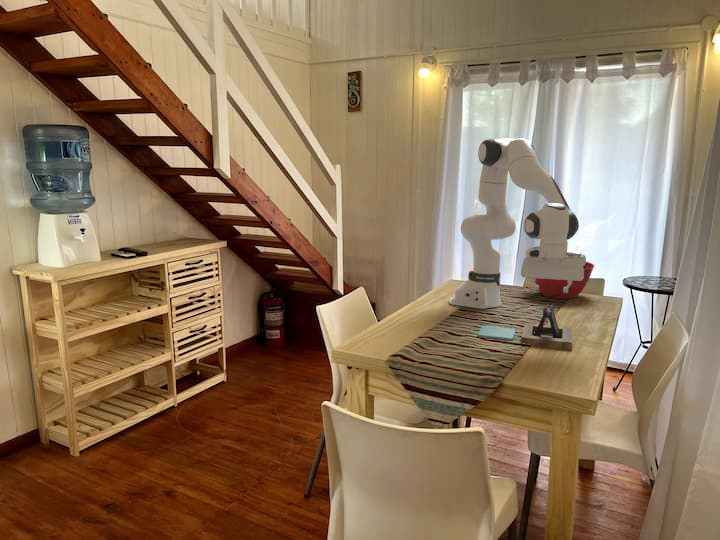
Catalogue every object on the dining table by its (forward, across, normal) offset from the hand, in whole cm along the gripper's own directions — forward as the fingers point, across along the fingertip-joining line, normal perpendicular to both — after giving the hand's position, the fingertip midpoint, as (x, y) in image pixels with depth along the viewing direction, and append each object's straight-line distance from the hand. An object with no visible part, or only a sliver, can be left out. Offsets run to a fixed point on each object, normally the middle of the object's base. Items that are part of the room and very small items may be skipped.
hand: (550, 291), depth 185 cm
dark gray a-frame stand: (+17, 0, 0) cm, 17 cm away
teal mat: (+17, +17, 0) cm, 24 cm away
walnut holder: (+17, 0, 0) cm, 17 cm away
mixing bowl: (+16, -3, -70) cm, 72 cm away
